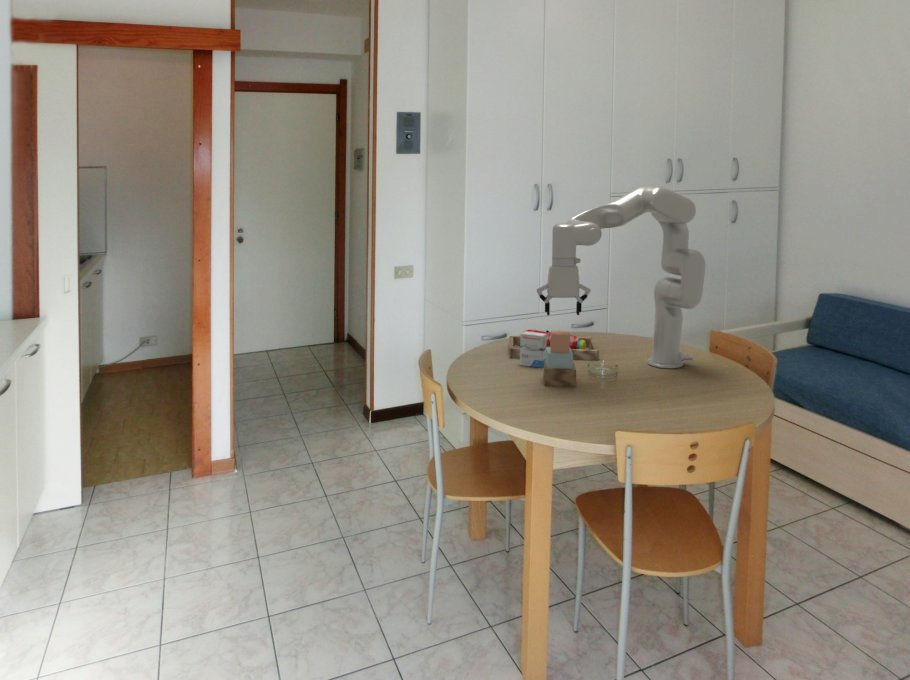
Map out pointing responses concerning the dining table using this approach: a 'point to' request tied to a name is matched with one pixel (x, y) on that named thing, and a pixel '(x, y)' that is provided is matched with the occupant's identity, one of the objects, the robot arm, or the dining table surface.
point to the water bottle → (574, 341)
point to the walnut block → (559, 376)
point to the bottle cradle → (577, 353)
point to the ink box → (533, 349)
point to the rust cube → (560, 342)
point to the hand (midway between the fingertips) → (562, 314)
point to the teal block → (559, 359)
